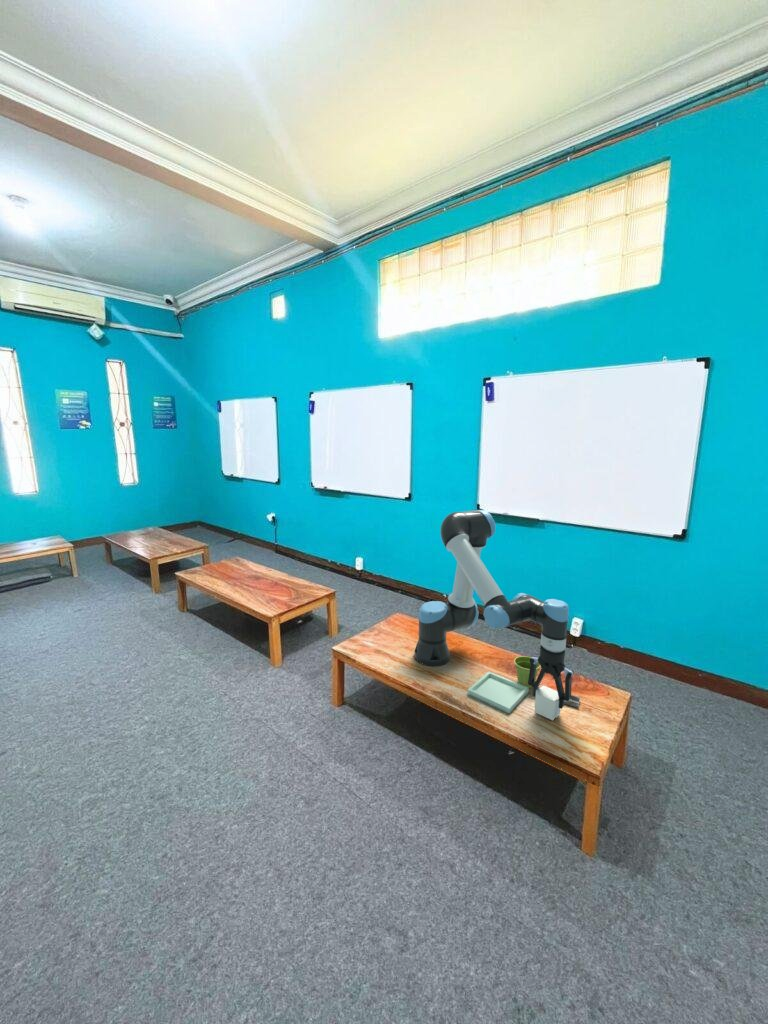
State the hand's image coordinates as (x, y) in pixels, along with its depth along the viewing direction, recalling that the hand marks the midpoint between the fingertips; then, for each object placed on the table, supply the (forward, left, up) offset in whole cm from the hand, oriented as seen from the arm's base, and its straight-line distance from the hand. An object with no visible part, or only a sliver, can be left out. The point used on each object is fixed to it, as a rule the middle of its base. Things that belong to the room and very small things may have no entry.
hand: (547, 710), depth 134 cm
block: (0, 0, 0) cm, 0 cm away
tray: (-18, 0, -1) cm, 18 cm away
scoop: (0, +12, -1) cm, 12 cm away
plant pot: (-13, +13, -2) cm, 18 cm away
